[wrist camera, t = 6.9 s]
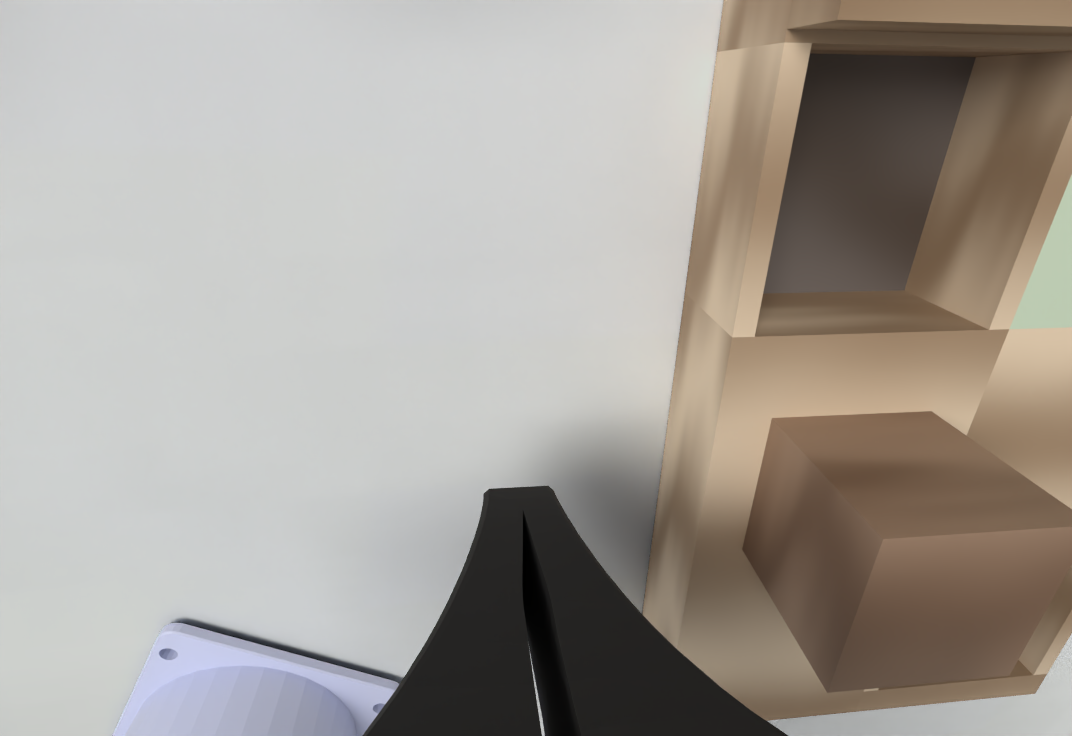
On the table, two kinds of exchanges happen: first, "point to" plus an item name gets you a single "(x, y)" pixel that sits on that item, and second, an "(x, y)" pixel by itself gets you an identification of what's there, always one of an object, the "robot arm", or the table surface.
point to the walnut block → (902, 549)
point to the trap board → (861, 293)
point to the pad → (1051, 276)
